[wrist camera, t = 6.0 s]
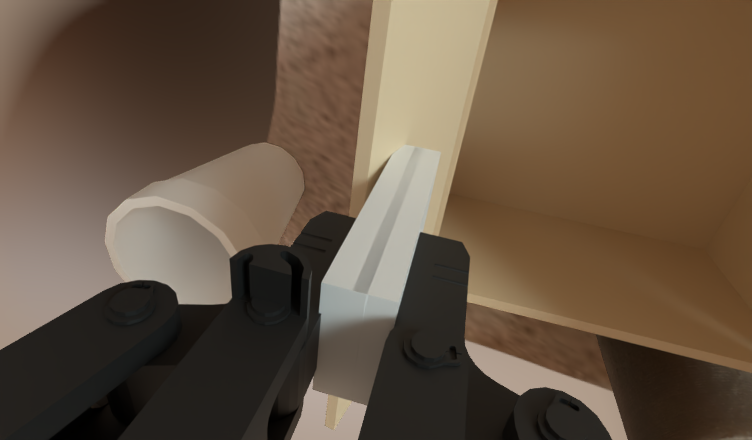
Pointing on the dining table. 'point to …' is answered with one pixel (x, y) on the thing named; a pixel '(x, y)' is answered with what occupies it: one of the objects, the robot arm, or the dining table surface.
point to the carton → (611, 171)
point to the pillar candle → (676, 394)
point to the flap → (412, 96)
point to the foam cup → (205, 221)
